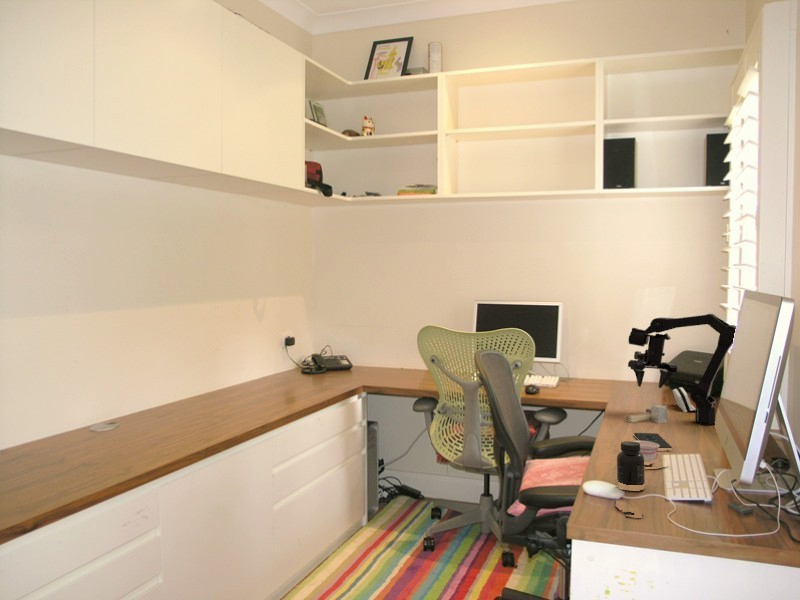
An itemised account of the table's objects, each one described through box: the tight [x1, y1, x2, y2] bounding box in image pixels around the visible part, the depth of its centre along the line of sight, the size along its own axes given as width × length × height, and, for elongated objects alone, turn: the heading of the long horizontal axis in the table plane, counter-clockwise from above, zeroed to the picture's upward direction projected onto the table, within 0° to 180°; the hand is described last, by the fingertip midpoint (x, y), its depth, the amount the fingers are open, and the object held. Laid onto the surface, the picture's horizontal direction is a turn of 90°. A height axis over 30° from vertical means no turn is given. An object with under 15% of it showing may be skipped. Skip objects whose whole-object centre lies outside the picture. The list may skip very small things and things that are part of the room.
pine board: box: [624, 412, 652, 423], centre depth 249 cm, size 4×13×2 cm, turn 111°
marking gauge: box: [645, 404, 668, 424], centre depth 249 cm, size 8×4×6 cm, turn 21°
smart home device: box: [633, 432, 673, 449], centre depth 214 cm, size 8×2×20 cm
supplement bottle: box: [616, 440, 646, 485], centre depth 168 cm, size 7×7×12 cm
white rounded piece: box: [672, 387, 696, 413], centre depth 272 cm, size 17×5×10 cm, turn 166°
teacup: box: [632, 440, 660, 462], centre depth 190 cm, size 12×12×6 cm
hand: (649, 387), depth 255 cm, fingers open, 9 cm apart
